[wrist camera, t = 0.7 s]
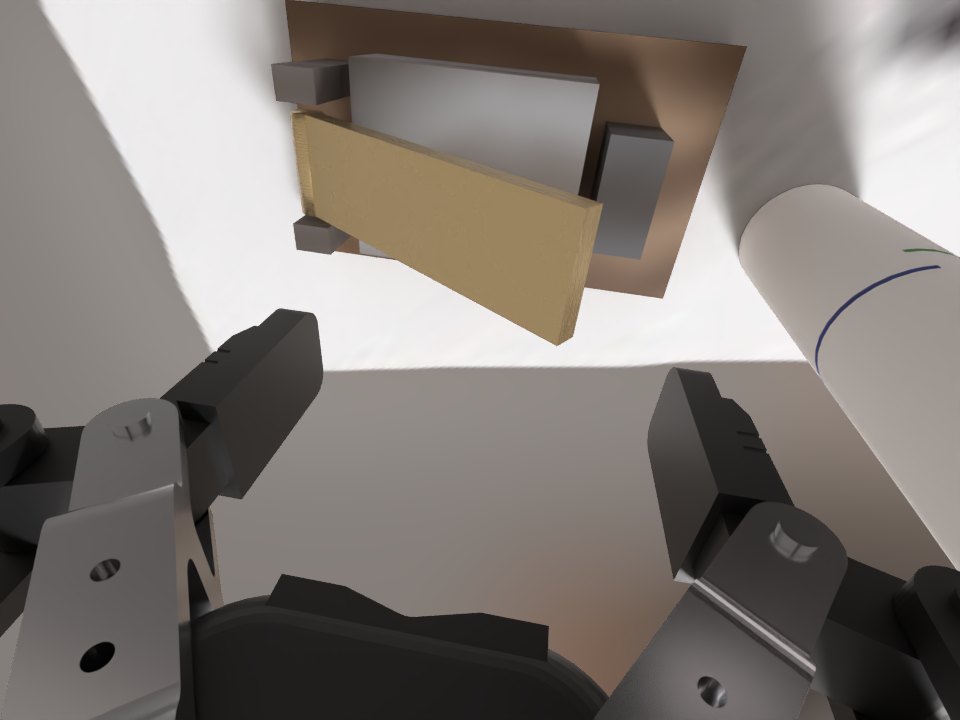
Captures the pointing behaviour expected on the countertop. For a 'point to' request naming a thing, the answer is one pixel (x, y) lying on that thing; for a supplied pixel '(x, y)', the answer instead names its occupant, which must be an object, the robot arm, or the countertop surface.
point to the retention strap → (452, 220)
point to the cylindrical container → (872, 333)
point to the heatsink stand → (527, 115)
